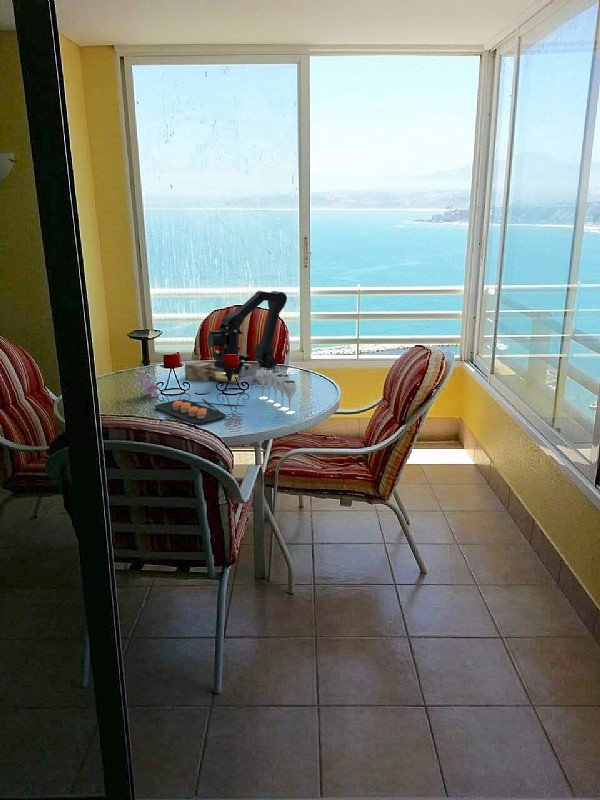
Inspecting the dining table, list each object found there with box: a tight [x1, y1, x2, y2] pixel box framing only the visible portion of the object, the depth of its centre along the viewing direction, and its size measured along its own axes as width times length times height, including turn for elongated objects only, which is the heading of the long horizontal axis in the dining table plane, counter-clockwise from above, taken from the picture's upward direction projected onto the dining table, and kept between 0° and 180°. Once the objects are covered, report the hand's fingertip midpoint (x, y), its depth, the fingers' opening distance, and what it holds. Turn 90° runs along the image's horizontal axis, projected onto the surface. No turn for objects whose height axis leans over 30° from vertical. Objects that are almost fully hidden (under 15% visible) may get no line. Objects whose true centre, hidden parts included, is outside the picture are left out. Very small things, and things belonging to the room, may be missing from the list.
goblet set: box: [255, 367, 297, 415], centre depth 245 cm, size 28×6×13 cm, turn 29°
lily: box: [134, 373, 161, 400], centre depth 253 cm, size 12×12×10 cm
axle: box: [209, 371, 240, 385], centre depth 280 cm, size 16×4×4 cm, turn 61°
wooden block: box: [184, 360, 217, 383], centre depth 284 cm, size 12×8×6 cm, turn 62°
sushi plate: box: [154, 398, 245, 425], centre depth 239 cm, size 29×30×4 cm
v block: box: [217, 363, 254, 378], centre depth 295 cm, size 14×10×4 cm
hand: (232, 379), depth 277 cm, fingers closed on axle, 4 cm apart
